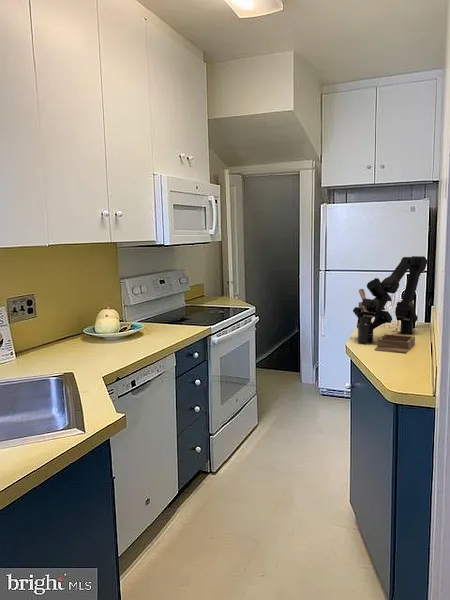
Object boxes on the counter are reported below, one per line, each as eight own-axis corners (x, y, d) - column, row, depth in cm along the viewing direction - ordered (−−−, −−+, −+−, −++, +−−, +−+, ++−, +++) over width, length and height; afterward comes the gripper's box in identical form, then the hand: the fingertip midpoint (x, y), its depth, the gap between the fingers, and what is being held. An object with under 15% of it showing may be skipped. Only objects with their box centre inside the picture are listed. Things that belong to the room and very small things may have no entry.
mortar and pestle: (350, 325, 262) (351, 289, 259) (362, 323, 266) (362, 288, 264) (367, 329, 252) (367, 291, 250) (378, 326, 257) (379, 289, 254)
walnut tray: (385, 341, 222) (385, 334, 222) (414, 344, 216) (414, 336, 215) (374, 350, 207) (374, 342, 207) (405, 353, 200) (406, 345, 200)
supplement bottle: (373, 344, 218) (374, 318, 216) (358, 344, 219) (358, 318, 218) (372, 341, 225) (372, 315, 223) (357, 340, 226) (357, 315, 224)
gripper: (355, 290, 228) (339, 315, 224) (388, 293, 213) (372, 321, 209) (366, 304, 234) (350, 330, 229) (399, 309, 219) (383, 336, 214)
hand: (363, 329), depth 220 cm, fingers closed on supplement bottle, 7 cm apart
